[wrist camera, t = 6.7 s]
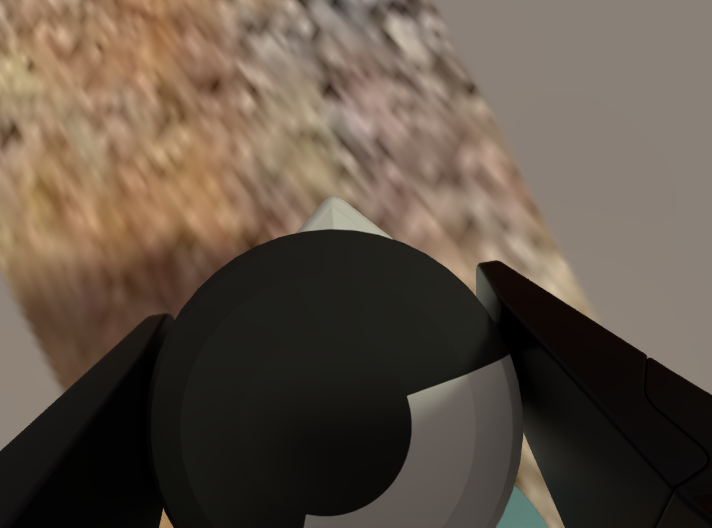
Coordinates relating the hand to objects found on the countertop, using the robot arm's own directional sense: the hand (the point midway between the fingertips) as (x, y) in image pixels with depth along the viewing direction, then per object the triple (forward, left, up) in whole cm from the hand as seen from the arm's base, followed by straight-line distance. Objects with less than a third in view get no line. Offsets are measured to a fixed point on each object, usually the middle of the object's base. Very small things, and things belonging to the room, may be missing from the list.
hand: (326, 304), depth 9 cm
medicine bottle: (-2, 0, -10) cm, 10 cm away
